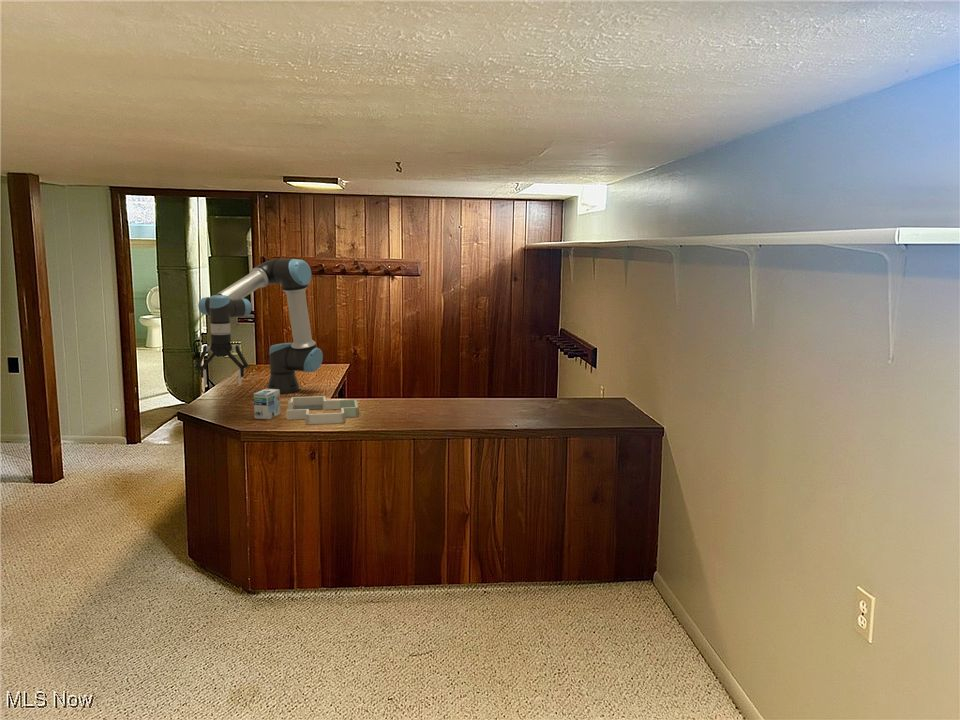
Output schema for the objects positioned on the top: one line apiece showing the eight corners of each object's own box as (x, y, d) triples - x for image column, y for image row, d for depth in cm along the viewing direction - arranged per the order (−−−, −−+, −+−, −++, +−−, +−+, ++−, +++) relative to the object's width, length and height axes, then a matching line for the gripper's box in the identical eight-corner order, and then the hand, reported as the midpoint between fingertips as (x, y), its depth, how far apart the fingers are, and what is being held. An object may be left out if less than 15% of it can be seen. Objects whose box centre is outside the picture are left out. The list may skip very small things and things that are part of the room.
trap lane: (289, 406, 321) (288, 397, 320) (355, 403, 327) (355, 394, 326) (285, 425, 288) (285, 415, 287) (359, 422, 294) (359, 412, 293)
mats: (294, 406, 320) (294, 405, 320) (338, 404, 324) (338, 404, 324) (292, 424, 289) (292, 423, 289) (340, 422, 294) (340, 421, 294)
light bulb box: (269, 419, 297) (268, 394, 295) (253, 418, 298) (252, 393, 296) (281, 413, 307) (280, 388, 305) (266, 412, 308) (265, 388, 306)
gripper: (186, 335, 287) (188, 387, 290) (252, 334, 292) (253, 386, 295) (189, 332, 294) (192, 384, 297) (253, 332, 299) (255, 382, 303)
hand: (222, 385), depth 296 cm, fingers open, 13 cm apart
